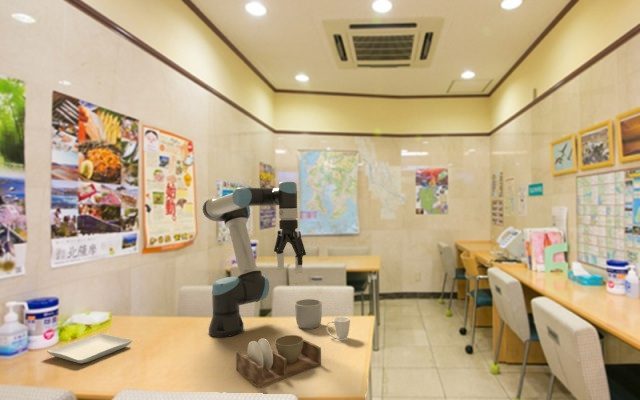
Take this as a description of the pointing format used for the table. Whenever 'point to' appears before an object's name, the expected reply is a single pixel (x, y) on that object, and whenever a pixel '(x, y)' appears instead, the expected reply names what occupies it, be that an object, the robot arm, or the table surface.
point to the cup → (341, 327)
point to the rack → (279, 365)
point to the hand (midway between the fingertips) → (289, 271)
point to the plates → (261, 353)
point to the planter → (308, 313)
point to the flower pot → (289, 347)
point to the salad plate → (90, 348)
